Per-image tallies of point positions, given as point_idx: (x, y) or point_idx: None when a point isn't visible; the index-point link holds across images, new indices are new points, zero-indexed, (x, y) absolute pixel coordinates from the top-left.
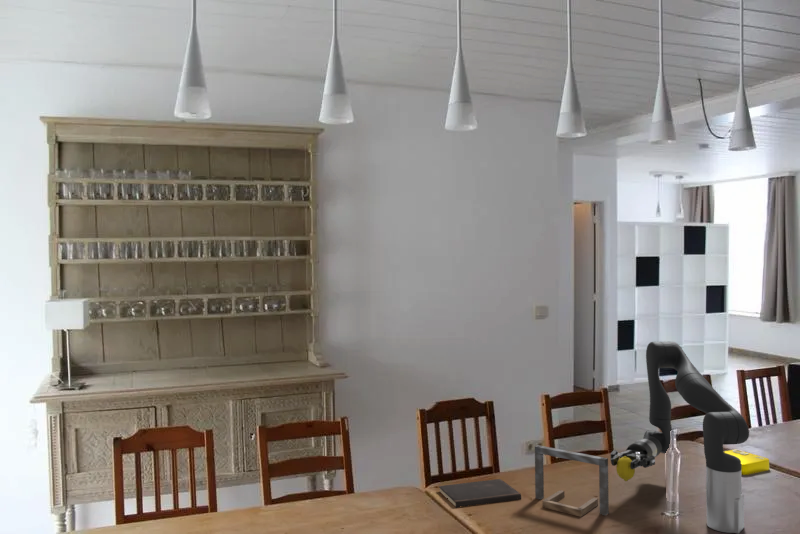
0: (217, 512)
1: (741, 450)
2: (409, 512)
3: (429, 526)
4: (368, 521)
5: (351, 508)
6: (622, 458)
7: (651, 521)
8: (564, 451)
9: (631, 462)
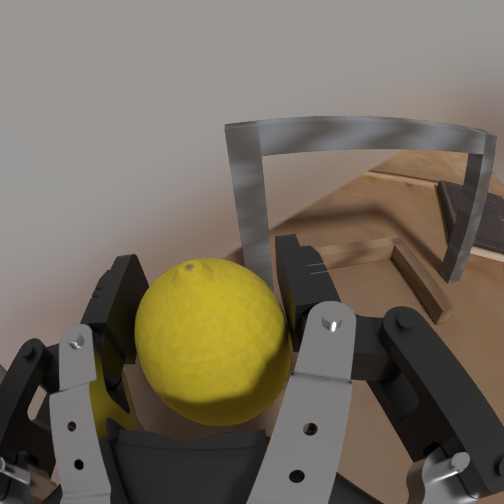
0: None
1: None
2: (434, 166)
3: (389, 160)
4: (420, 151)
5: (454, 157)
6: (212, 260)
7: None
8: (411, 120)
9: (128, 255)
